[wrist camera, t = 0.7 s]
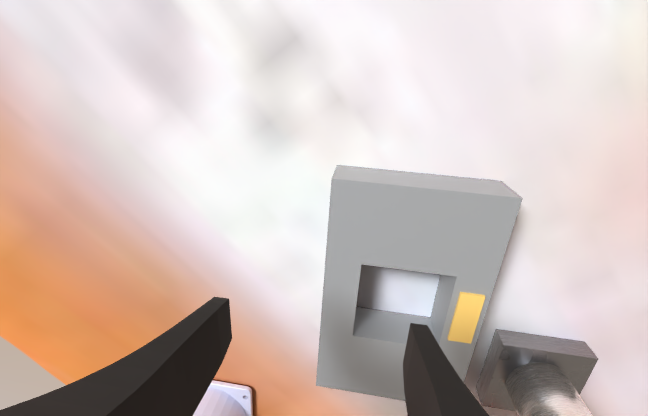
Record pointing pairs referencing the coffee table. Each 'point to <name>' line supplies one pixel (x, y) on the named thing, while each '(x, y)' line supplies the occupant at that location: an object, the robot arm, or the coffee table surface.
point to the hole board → (408, 254)
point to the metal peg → (544, 392)
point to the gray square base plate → (529, 348)
